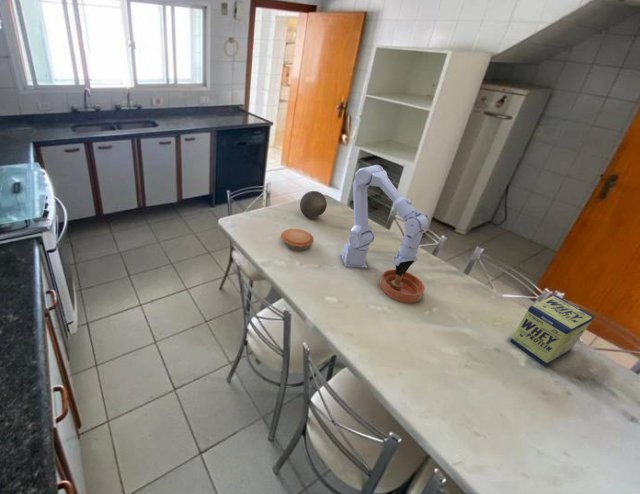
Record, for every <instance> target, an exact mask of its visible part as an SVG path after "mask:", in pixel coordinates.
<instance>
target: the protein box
mask: <svg viewBox="0 0 640 494" xmlns="http://www.w3.org/2000/svg"><path fill="white" fill-rule="evenodd" d="M595 318H596V316H595V315H593V314H591V313H589V312H587V311H586V310H584V309H582V308H580V307H579V306H577V305H576V304H573V303H571V302H569V301H568V300H567V299H564V298H562V297H561V296H559V295H557V294H554V295H552V296H549V297H548V298H545V299H543V300H542V301H539V302H537V303H535V304H532V305H530V306H529V307H528V309H527V311H526V312H525V314H524V316H523V318H522V319H521V321H520V323H519V324H518V326H517V327H516V330H515V331H514V333H513V335H512V336H511V338H510V340H509V342H511V343H512V344H513V345H515V346H516V347H518V348H519V349H520V350H522V352H524V353H526V354H527V355H529V356H530V357H532V358H533V359H534V360H535V361H537V362H538V363H540V364H541V365H542V366H544V367H546V366H548V365H549V364H551V363H553V362H554V361H556V360H558V359H559V358H561V357H563V356H564V355H566V354H568V353H569V352H571V351H572V349H573V348H574V346H575V345H576V344H577V342H578V341H579V340H580V338H581V337H582V336H583V334H584V332H585V331H586V330H587V329H588V327H589V326H590V324H591V323H592V322H593V321H594V319H595Z"/></svg>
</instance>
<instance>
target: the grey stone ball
mask: <svg viewBox="0 0 640 494" xmlns="http://www.w3.org/2000/svg"><path fill="white" fill-rule="evenodd" d="M327 208H328V202H327V198H326V196H324V194H323V193H322V192H320V191H317V190H311V191H307V192H305V193H304V194H303V196H302V197H301V199H300V202H299V210H300V212H301V214H302V215H303V216H304V217H306V218H309V219H315V218H318V217H319V216H321V215H323V214H324V213H325V211H326V209H327Z"/></svg>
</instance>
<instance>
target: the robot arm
mask: <svg viewBox="0 0 640 494" xmlns="http://www.w3.org/2000/svg"><path fill="white" fill-rule="evenodd" d="M370 186H371V187H378V188H379V189H381V190H382V191H383V193H384V194H385V196H387V197H388V198H389V199H390V200H391V201H392V203H393V206H392V207H393V208H394V210H395V211H396V212H397V214H398V215H399V216H400V217H401V219H402V221H404V223H403V224H404V228H405V231H404V234H403V237H402V240H401V243H400V246H399V250H398V251H397V253H396V256H395V257H394V258H393V262H392V264H393V265H395V270H396V274H397V275H399V276H402V275H403V274H405V273H406V272H407V271H408V270H409V268H411V266H412V265H413V263H415V262H417V261H418V260H419V258H418V257H416V256H417V254H418V252H419V247H420V244H421V241H422V239H423V235H424V232H425V229H427V228H428V227H429V226H430V219H429V217H428V215H427V214H425V213H423V212H421V211H420V210H418V209H417V208H416V207H415V205H414V204H413V202H412V200H411V199H409V198H408V197H404V196H402V195H401V194H400V192H399V190H398V189H397V188H396V186H395V185H394V183H393V182H392V181H391V179H389V177H388V173H387V171H386V170H385V169H384V168H383V166H381V164H380V165H379V164H373V165H370V166H367V167H361V168H359V169H358V170H357V171H355V172H354V180H353V182H352V197H353V199H352V200H353V219H354V220H353V221H354V222H353V223H354V225H353V227H351V229H350V230H349V232H350V233H349V237H348V243H345V244H344V247H343V250H342V254H341V258H342V260H343V263H344V266H345V267H353V268H368V266H367V265H368V264H367V263H366V259H367V255H368V251H369V248H370V245H371V244H372V243H373V242H374V241H375V234H374V231H373V227H372V226H371V225H370V224H369V204H368V203H369V202H368V200H369V199H368V188H369V187H370Z"/></svg>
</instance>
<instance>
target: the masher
mask: <svg viewBox="0 0 640 494" xmlns="http://www.w3.org/2000/svg"><path fill="white" fill-rule="evenodd" d="M402 276H403V275H402ZM402 276H399V275H397V276H396V279H395V280H393V281H392V282H391V286H392V287H393V288H394V289H397V290H400V289H401V288H402V283H401V279H402Z"/></svg>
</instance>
